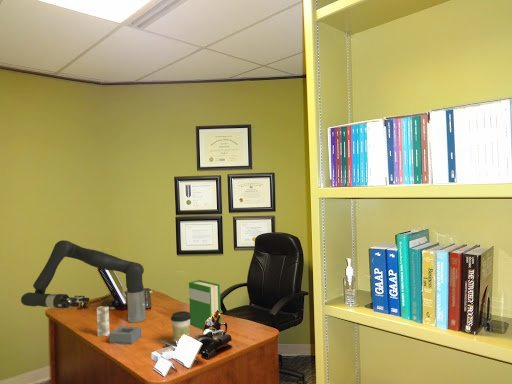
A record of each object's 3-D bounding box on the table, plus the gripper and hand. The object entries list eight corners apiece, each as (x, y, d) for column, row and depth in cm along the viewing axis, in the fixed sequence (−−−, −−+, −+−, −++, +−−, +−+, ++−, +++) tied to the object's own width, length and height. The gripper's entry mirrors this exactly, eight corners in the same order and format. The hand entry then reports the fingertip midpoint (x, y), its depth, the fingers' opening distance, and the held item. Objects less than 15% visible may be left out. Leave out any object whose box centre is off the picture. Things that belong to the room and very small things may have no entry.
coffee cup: (191, 348, 181) (190, 317, 181) (170, 349, 181) (169, 318, 180) (192, 339, 191) (191, 310, 191) (173, 341, 190) (172, 311, 190)
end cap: (109, 343, 190) (109, 333, 190) (120, 335, 200) (120, 326, 200) (131, 344, 187) (131, 334, 187) (141, 336, 197) (141, 327, 197)
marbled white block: (97, 336, 200) (96, 308, 200) (101, 334, 203) (100, 306, 203) (106, 336, 199) (105, 308, 199) (109, 334, 202) (108, 306, 202)
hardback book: (221, 328, 206) (219, 284, 206) (210, 332, 201) (209, 287, 201) (200, 321, 218) (199, 279, 218) (190, 324, 213) (188, 282, 212)
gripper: (47, 297, 199) (74, 299, 196) (66, 290, 213) (92, 291, 210) (47, 311, 199) (75, 313, 196) (66, 303, 213) (92, 305, 210)
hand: (83, 302), depth 203 cm, fingers open, 8 cm apart
